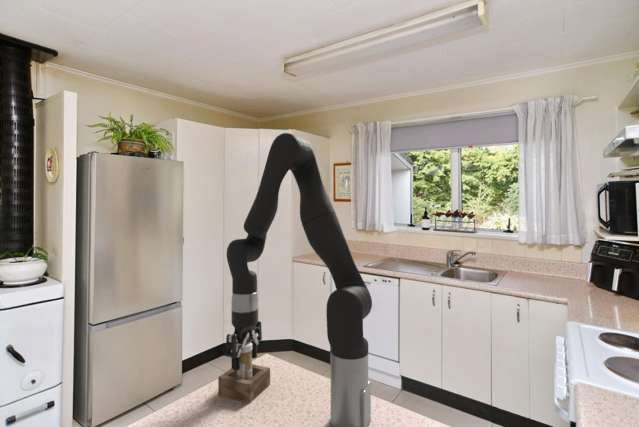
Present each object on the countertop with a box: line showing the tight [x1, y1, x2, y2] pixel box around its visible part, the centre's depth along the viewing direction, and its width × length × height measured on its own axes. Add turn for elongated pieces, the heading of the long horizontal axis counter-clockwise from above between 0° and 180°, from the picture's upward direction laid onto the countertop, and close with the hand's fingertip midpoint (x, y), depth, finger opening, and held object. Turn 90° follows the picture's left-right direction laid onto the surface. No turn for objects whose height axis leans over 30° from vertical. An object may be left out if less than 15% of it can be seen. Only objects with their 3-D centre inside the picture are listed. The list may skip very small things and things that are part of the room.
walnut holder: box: [217, 363, 271, 404], centre depth 97 cm, size 10×10×5 cm
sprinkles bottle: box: [236, 342, 253, 380], centre depth 97 cm, size 5×5×14 cm
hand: (244, 363), depth 97 cm, fingers open, 8 cm apart
